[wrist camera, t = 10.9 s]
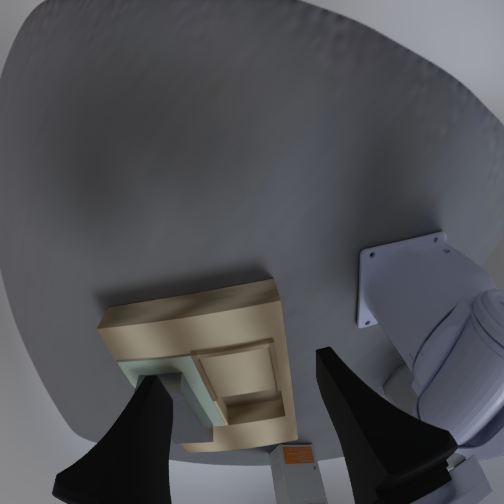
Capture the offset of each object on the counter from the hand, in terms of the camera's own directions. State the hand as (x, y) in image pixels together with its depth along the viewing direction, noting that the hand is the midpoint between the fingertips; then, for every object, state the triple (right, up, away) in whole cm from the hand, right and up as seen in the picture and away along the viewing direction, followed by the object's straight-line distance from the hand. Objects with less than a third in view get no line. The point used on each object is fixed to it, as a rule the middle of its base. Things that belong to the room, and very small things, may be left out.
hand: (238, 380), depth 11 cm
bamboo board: (-3, -8, +14) cm, 16 cm away
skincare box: (+7, -25, +23) cm, 35 cm away
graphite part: (-6, -8, +10) cm, 15 cm away
